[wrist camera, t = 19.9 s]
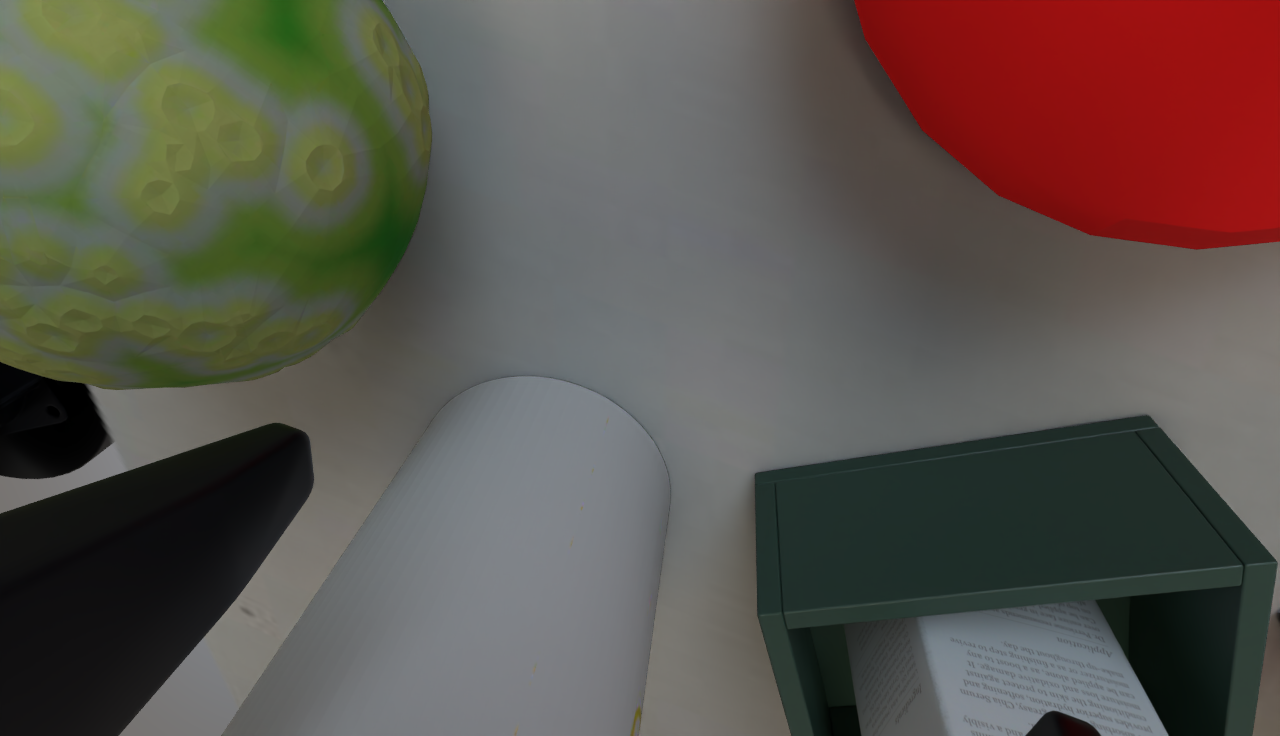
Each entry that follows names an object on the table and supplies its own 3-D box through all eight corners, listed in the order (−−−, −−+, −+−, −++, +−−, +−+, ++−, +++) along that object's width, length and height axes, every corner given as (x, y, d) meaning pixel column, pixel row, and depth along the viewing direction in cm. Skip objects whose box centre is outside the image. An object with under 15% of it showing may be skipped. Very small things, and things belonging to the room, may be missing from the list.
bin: (813, 704, 27) (828, 867, 22) (754, 472, 22) (756, 615, 18) (1138, 680, 25) (1234, 859, 20) (1148, 413, 20) (1279, 561, 15)
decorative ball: (511, 280, 20) (338, 524, 12) (174, 265, 21) (-213, 478, 13) (469, -159, 16) (122, -299, 7) (38, -150, 17) (-733, -261, 8)
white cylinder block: (532, 611, 27) (396, 1034, 16) (369, 454, 24) (81, 838, 14) (721, 519, 24) (703, 969, 13) (557, 327, 21) (371, 699, 10)
